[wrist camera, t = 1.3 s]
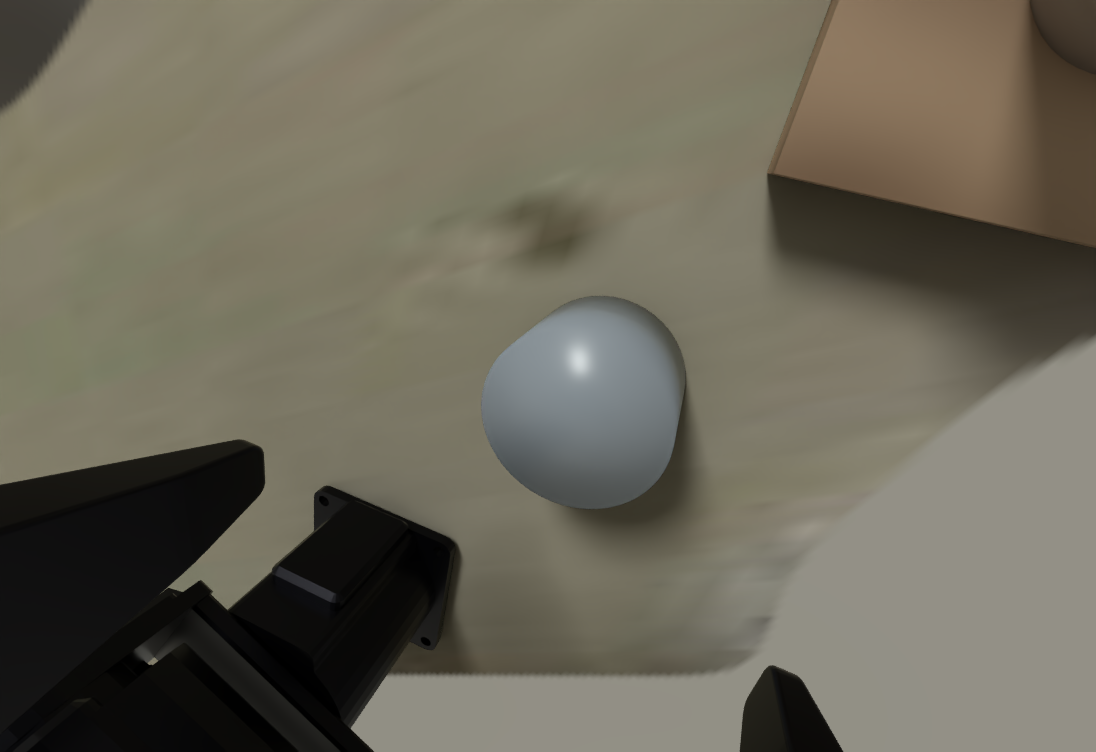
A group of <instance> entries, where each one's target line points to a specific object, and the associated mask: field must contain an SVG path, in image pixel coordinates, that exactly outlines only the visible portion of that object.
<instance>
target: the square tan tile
mask: <svg viewBox="0 0 1096 752" xmlns="http://www.w3.org/2000/svg"><path fill="white" fill-rule="evenodd" d="M767 173H768V174H772V175H777V176H781V177H785V178H790V179H794V180H798V181H803V182H807V183H812V184H816V185H820V186H825V187H829V188H834V189H838V190H842V191H847V192H851V193H856V194H860V195H864V196H869V197H873V198H878V199H882V200H886V201H891V202H895V203H900V204H904V205H908V206H913V207H917V208H922V209H926V210H930V211H935V212H939V213H943V214H948V215H952V216H957V217H961V218H965V219H970V220H974V221H979V222H983V223H987V224H992V225H996V226H1001V227H1005V228H1009V229H1014V230H1018V231H1023V232H1027V233H1031V234H1036V235H1040V236H1045V237H1049V238H1053V239H1058V240H1062V241H1066V242H1071V243H1075V244H1080V245H1084V246H1088V247H1093V248H1096V0H832V1H831V3H830V6H829V9H828V11H827V14H826V17H825V19H824V22H823V25H822V27H821V30H820V33H819V35H818V38H817V41H816V43H815V46H814V49H813V51H812V54H811V57H810V59H809V62H808V65H807V67H806V70H805V73H804V75H803V78H802V81H801V83H800V86H799V89H798V92H797V94H796V97H795V100H794V102H793V105H792V108H791V110H790V113H789V116H788V118H787V121H786V124H785V126H784V129H783V132H782V134H781V137H780V140H779V142H778V145H777V148H776V150H775V153H774V156H773V158H772V161H771V164H770V166H769V169H768V172H767Z"/></svg>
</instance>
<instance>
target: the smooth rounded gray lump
mask: <svg viewBox="0 0 1096 752" xmlns="http://www.w3.org/2000/svg"><path fill="white" fill-rule="evenodd" d="M685 383H686V371H685V365H684V360H683V356H682V353H681V350H680V348H679V346H678V344H677V341H676V340H675V338H674V337H673V335H672V333H671V332H670V331H669V329H668V328H667V327H666V326H665V325H664V323H663V322H662V321H660V320H659V319H658V318H657V317H656V316H655V315H654V314H652V313H651V312H649V311H648V310H646V309H645V308H643V307H641V306H639V305H637V304H635V303H633V302H630V301H627V300H625V299H621V298H616V297H610V296H590V297H584V298H579V299H576V300H573V301H570V302H568V303H566V304H564V305H562V306H560V307H559V308H557V309H556V310H554V311H553V312H552V313H551V314H549V315H548V316H547V317H546V318H544V319H543V320H542V321H540V322H539V323H538V324H537V325H535V326H534V327H533V328H532V329H530V330H529V331H528V332H527V333H525V334H524V335H523V336H522V337H520V338H519V339H518V340H517V341H515V342H514V343H513V344H512V345H510V346H509V347H508V348H507V349H506V350H505V351H504V352H503V353H502V354H501V355H500V356H499V357H498V358H497V360H496V361H495V362H494V364H493V366H492V367H491V369H490V371H489V373H488V376H487V378H486V380H485V384H484V388H483V392H482V402H481V406H482V419H483V425H484V428H485V432H486V435H487V438H488V440H489V442H490V445H491V447H492V449H493V451H494V452H495V454H496V456H497V457H498V459H499V460H500V462H501V463H502V464H503V466H504V467H505V468H506V469H507V470H508V471H509V472H510V474H511V475H512V476H513V477H514V478H516V479H517V480H518V481H519V482H520V483H521V484H523V485H524V486H525V487H527V488H528V489H529V490H531V491H533V492H534V493H536V494H538V495H539V496H541V497H543V498H546V499H548V500H550V501H552V502H555V503H558V504H561V505H565V506H569V507H574V508H582V509H602V508H610V507H614V506H618V505H622V504H624V503H627V502H629V501H632V500H633V499H635V498H637V497H639V496H640V495H642V494H643V493H645V492H646V491H647V490H648V489H650V488H651V487H652V486H653V485H654V484H655V483H656V482H657V480H658V479H659V478H660V477H661V475H662V474H663V472H664V471H665V469H666V467H667V465H668V463H669V461H670V458H671V455H672V451H673V448H674V443H675V437H676V432H677V427H678V422H679V417H680V412H681V407H682V401H683V396H684V391H685Z"/></svg>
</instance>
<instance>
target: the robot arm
mask: <svg viewBox="0 0 1096 752" xmlns="http://www.w3.org/2000/svg"><path fill="white" fill-rule="evenodd" d="M264 485H265V466H264V452H263V450H262V448H261V447H259V446H257V445H255V444H253V443H250V442H248V441H246V440H232V441H227V442H222V443H217V444H211V445H206V446H201V447H196V448H191V449H185V450H180V451H175V452H170V453H164V454H159V455H154V456H149V457H143V458H138V459H133V460H128V461H122V462H117V463H112V464H107V465H102V466H96V467H91V468H86V469H81V470H75V471H70V472H65V473H60V474H54V475H49V476H44V477H39V478H33V479H28V480H23V481H18V482H13V483H7V484H2V485H0V752H374V751H373V750H372V749H371V748H370V747H369V746H368V745H367V744H366V743H364V742H363V741H362V740H361V739H360V738H359V737H358V736H357V735H356V734H355V733H354V732H353V731H352V730H351V727H352V725H353V724H354V723H355V721H356V720H357V718H358V716H359V715H360V714H361V712H362V711H363V709H364V708H365V706H366V705H367V703H368V702H369V700H370V699H371V698H372V696H373V695H374V693H375V692H376V690H377V689H378V687H379V686H380V684H381V683H382V681H383V680H384V678H385V677H386V676H387V674H388V673H389V671H390V670H391V668H392V667H393V665H394V664H395V662H396V661H397V659H398V658H399V656H400V655H401V653H402V652H403V651H404V649H405V648H406V646H407V645H408V643H409V642H412V643H414V644H416V645H418V646H420V647H422V648H424V649H427V650H433V649H435V647H436V645H437V644H438V642H439V640H440V637H441V631H442V625H443V619H444V613H445V607H446V602H447V596H448V590H449V584H450V578H451V572H452V566H453V560H454V554H455V545H454V543H453V542H452V541H451V540H450V539H449V538H448V537H446V536H444V535H442V534H439V533H437V532H435V531H432V530H430V529H428V528H425V527H423V526H421V525H418V524H416V523H414V522H412V521H409V520H407V519H405V518H402V517H400V516H398V515H395V514H393V513H391V512H388V511H386V510H384V509H382V508H379V507H377V506H375V505H372V504H370V503H368V502H365V501H363V500H361V499H358V498H356V497H354V496H352V495H349V494H347V493H345V492H342V491H340V490H338V489H335V488H333V487H331V486H323V487H322V488H321V489H320V490H318V491H317V492H316V493H315V495H314V532H313V533H311V534H310V535H309V536H308V537H307V538H306V539H304V540H303V541H302V542H301V543H300V544H299V545H298V546H296V547H295V548H294V549H293V550H292V551H291V552H289V553H288V554H287V555H286V556H285V557H284V558H282V559H281V560H280V561H279V562H278V563H277V564H276V565H275V566H274V567H273V568H272V572H270V573H269V574H268V575H267V576H266V577H265V578H264V579H262V580H261V581H260V582H259V583H258V584H257V585H256V586H254V587H253V588H252V589H251V590H250V591H249V592H248V593H246V594H245V595H244V596H243V597H242V598H241V599H239V600H238V601H237V602H236V603H235V604H234V605H233V606H231V607H230V608H229V609H228V610H227V609H226V608H225V607H223V606H222V605H221V604H220V603H219V602H218V601H217V600H216V599H215V598H214V597H213V596H212V595H211V593H212V592H213V591H212V590H211V589H210V588H209V587H208V586H207V585H206V584H205V583H204V582H203V581H202V580H200V581H198V582H197V583H195V584H194V585H192V586H191V587H190V588H188V589H187V590H185V591H184V592H180V591H177V590H174V589H171V588H168V589H166V588H167V587H168V586H169V585H171V584H172V583H173V582H174V581H175V580H176V579H177V578H178V577H180V576H181V575H182V574H183V573H184V572H185V571H186V570H187V569H188V568H189V567H191V566H192V565H193V564H194V563H195V562H196V561H197V560H198V559H199V558H200V557H201V556H202V555H203V554H204V553H205V552H206V551H207V550H208V549H209V548H210V547H211V546H212V545H213V544H214V542H215V541H216V540H217V539H218V538H219V537H220V536H221V535H222V534H223V533H224V532H225V531H226V530H227V529H228V528H229V527H230V526H231V525H232V524H233V523H234V522H235V520H236V519H237V518H238V517H239V516H240V515H241V514H242V513H243V512H244V511H245V510H246V509H247V508H248V507H249V506H250V505H251V504H252V503H253V502H254V501H255V500H256V499H257V497H258V496H259V495H260V494H261V492H262V491H263V488H264ZM441 548H442V549H441ZM165 589H166V590H165ZM164 590H165V591H164ZM163 591H164V592H163ZM161 592H162V593H161ZM160 593H161V594H160ZM154 657H155V658H156V659H157V660H158V662H156V663H155V664H154V665H148V664H147V663H148V662H149V661H150V660H151V659H153V658H154ZM740 752H843V750H842V749H841V747H840V745H839V743H838V742H837V740H836V738H835V736H834V735H833V733H832V731H831V730H830V728H829V726H828V724H827V722H826V721H825V719H824V717H823V715H822V714H821V712H820V710H819V708H818V707H817V705H816V704H815V701H814V700H813V698H812V696H811V694H810V693H809V691H808V689H807V688H806V686H805V684H804V682H803V681H802V680H801V679H800V678H799V677H798V676H797V675H795V674H793V673H790V672H788V671H786V670H783V669H781V668H779V667H776V666H773V665H772V666H768V667H767V668H766V669H765V670H764V672H763V673H762V675H761V677H760V678H759V680H758V682H757V683H756V685H755V687H754V688H753V690H752V691H751V693H750V694H749V696H748V698H747V700H746V703H745V706H744V712H743V721H742V732H741V743H740Z"/></svg>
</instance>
